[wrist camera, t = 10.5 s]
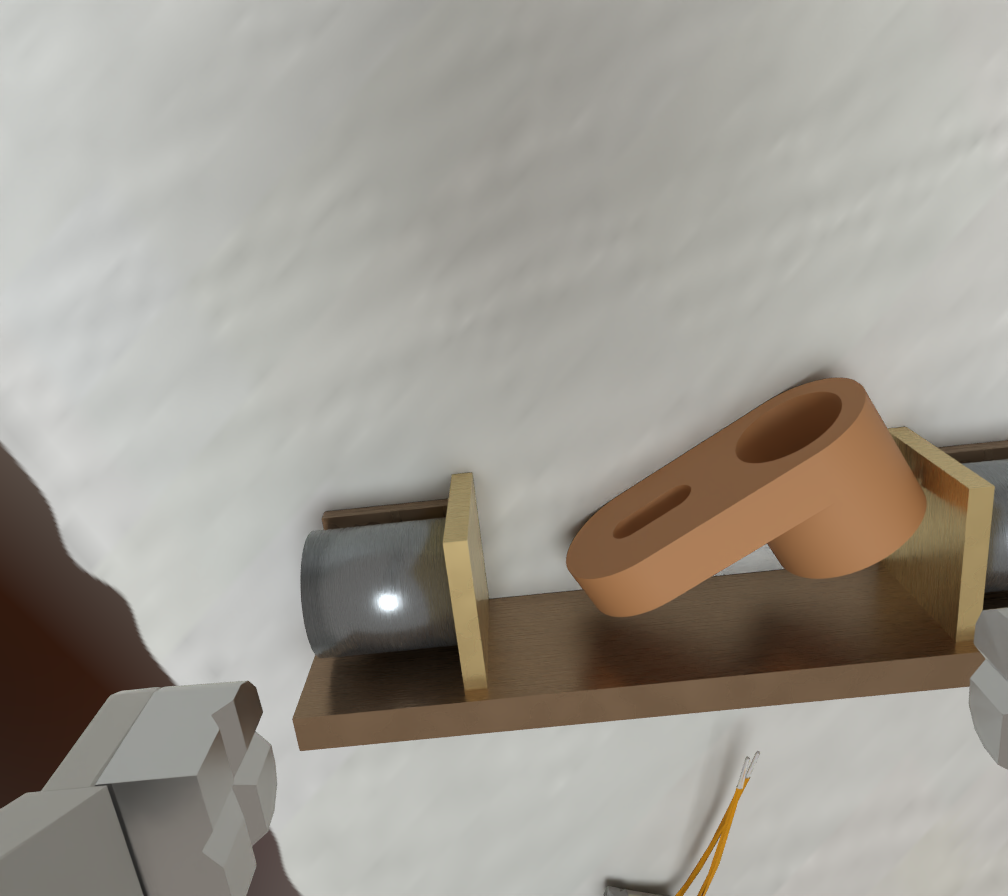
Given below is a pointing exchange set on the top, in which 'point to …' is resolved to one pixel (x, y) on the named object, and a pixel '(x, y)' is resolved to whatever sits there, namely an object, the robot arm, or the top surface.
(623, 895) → the electrical component
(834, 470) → the tan piece
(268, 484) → the top surface
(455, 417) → the top surface
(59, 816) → the robot arm
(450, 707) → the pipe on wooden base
